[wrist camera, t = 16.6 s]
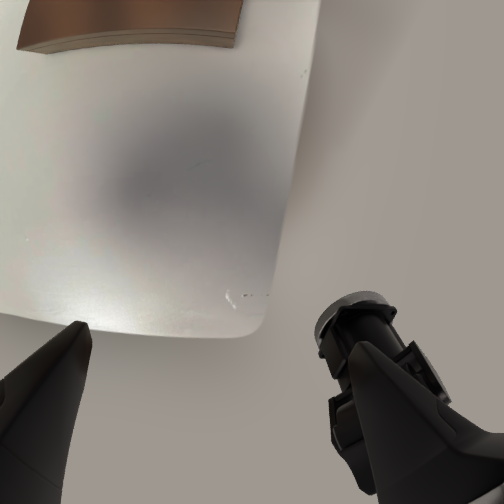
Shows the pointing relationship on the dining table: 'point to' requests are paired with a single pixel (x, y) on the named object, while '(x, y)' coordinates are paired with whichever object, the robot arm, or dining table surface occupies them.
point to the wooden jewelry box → (127, 23)
